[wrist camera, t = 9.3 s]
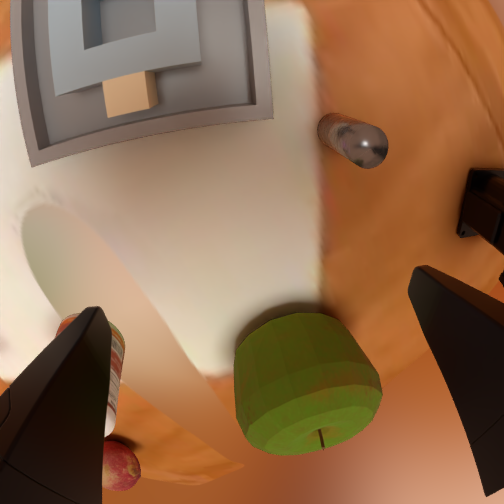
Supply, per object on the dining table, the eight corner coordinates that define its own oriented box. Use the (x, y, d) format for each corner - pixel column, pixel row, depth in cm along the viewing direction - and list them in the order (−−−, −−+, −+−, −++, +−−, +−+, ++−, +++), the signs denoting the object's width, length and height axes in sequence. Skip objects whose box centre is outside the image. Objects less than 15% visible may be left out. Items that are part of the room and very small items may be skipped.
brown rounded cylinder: (350, 112, 17) (389, 126, 13) (350, 146, 18) (386, 167, 14) (317, 113, 17) (350, 125, 13) (317, 148, 18) (349, 169, 14)
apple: (223, 379, 28) (237, 480, 19) (235, 295, 23) (259, 428, 14) (327, 372, 31) (360, 459, 22) (364, 295, 25) (424, 396, 16)
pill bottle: (56, 342, 23) (26, 447, 14) (67, 298, 21) (23, 420, 11) (116, 366, 26) (103, 473, 16) (135, 328, 23) (121, 454, 14)
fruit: (103, 426, 32) (98, 479, 25) (151, 443, 36) (151, 492, 29) (84, 439, 34) (79, 484, 27) (127, 454, 38) (126, 497, 31)
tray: (247, -83, 9) (252, -98, 7) (265, 114, 16) (273, 118, 14) (28, -29, 8) (13, -36, 6) (46, 157, 15) (31, 167, 13)
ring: (70, -13, 9) (48, -26, 7) (192, -44, 10) (191, -65, 7) (83, 121, 14) (61, 131, 12) (204, 96, 15) (204, 99, 12)
